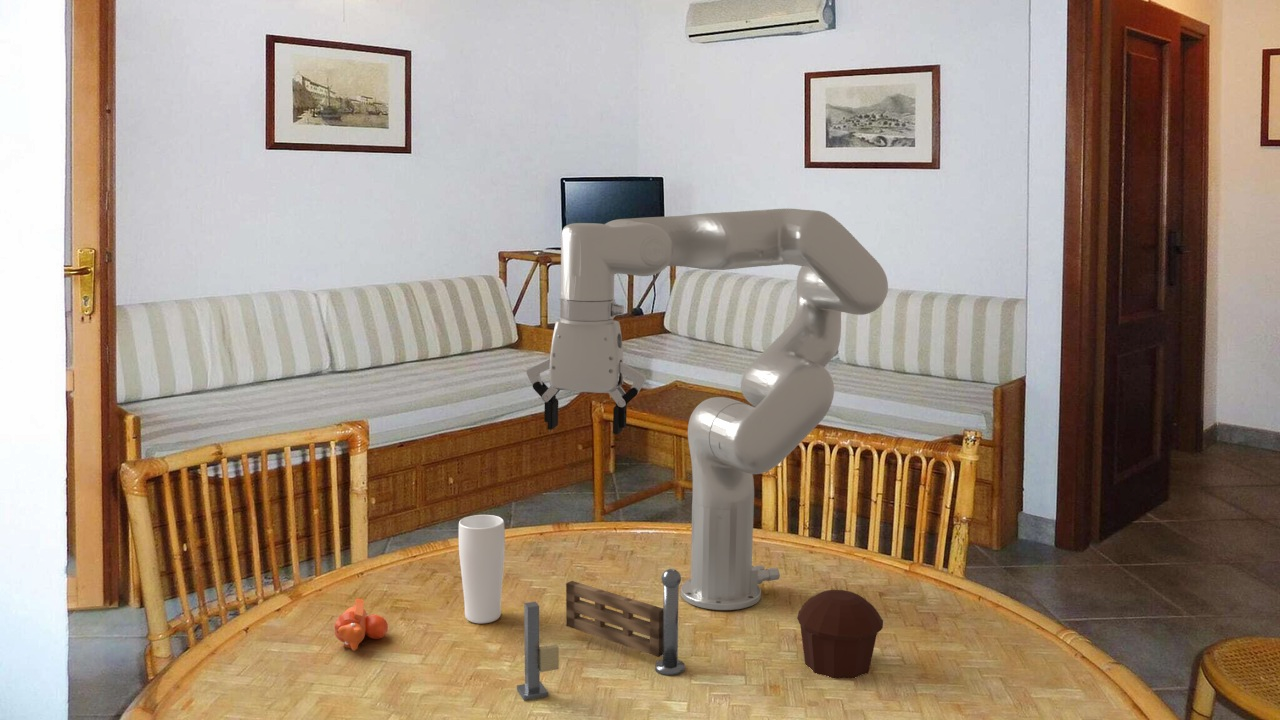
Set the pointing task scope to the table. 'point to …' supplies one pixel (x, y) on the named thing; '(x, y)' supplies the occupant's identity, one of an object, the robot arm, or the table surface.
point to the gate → (614, 618)
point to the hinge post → (670, 626)
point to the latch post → (536, 656)
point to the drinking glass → (482, 566)
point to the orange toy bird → (359, 625)
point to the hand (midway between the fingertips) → (585, 430)
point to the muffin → (839, 633)
